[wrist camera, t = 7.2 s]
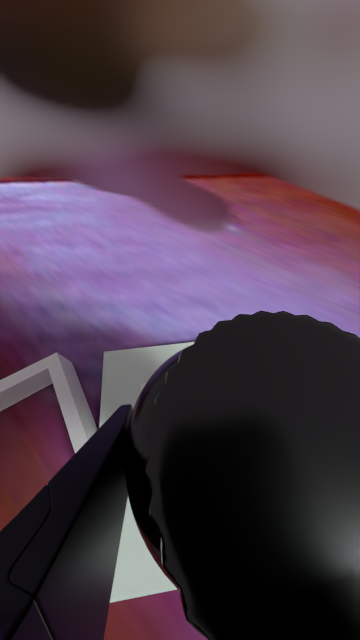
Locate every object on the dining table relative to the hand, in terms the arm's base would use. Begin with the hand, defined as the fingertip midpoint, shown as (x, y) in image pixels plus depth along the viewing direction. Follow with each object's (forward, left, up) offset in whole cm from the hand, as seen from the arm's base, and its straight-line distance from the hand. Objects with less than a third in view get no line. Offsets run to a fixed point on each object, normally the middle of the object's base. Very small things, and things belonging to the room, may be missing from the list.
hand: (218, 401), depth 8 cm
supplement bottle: (-1, 0, -7) cm, 7 cm away
